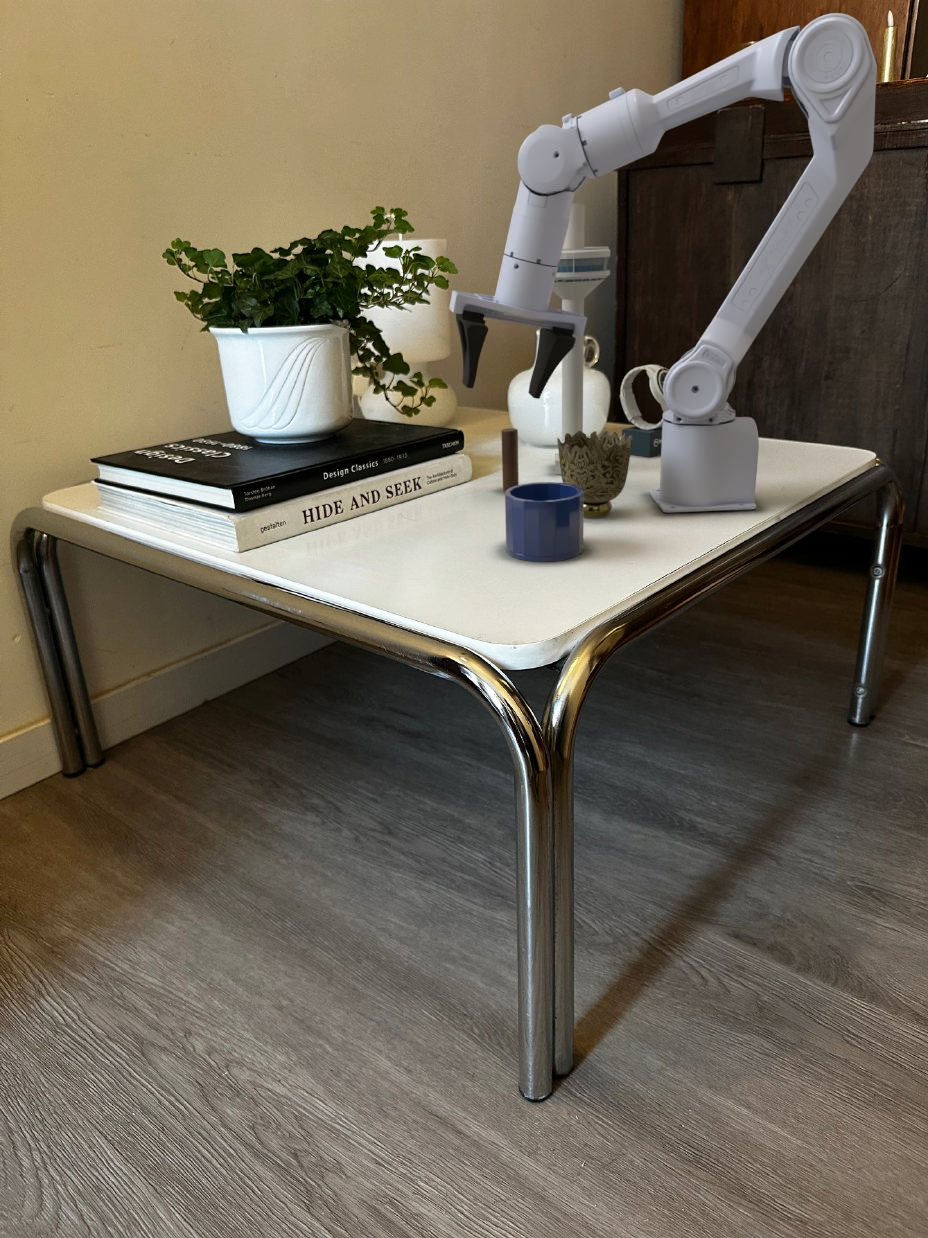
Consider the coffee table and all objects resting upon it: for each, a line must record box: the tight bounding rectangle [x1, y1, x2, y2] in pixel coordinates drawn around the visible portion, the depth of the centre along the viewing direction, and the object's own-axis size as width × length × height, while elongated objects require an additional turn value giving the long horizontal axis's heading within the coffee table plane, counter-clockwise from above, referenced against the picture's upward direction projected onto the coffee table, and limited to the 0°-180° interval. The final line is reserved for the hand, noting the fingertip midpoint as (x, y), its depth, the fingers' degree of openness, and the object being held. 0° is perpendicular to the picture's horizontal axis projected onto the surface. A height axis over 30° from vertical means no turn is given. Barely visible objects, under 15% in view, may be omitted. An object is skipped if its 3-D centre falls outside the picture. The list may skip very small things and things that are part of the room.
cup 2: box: [556, 430, 632, 519], centre depth 94 cm, size 8×7×8 cm
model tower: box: [552, 202, 611, 476], centre depth 108 cm, size 8×8×30 cm
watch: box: [619, 364, 670, 458], centre depth 120 cm, size 6×8×11 cm
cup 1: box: [504, 481, 585, 563], centre depth 84 cm, size 7×7×6 cm
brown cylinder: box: [501, 427, 520, 493], centre depth 104 cm, size 2×2×7 cm
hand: (501, 390), depth 100 cm, fingers open, 7 cm apart
